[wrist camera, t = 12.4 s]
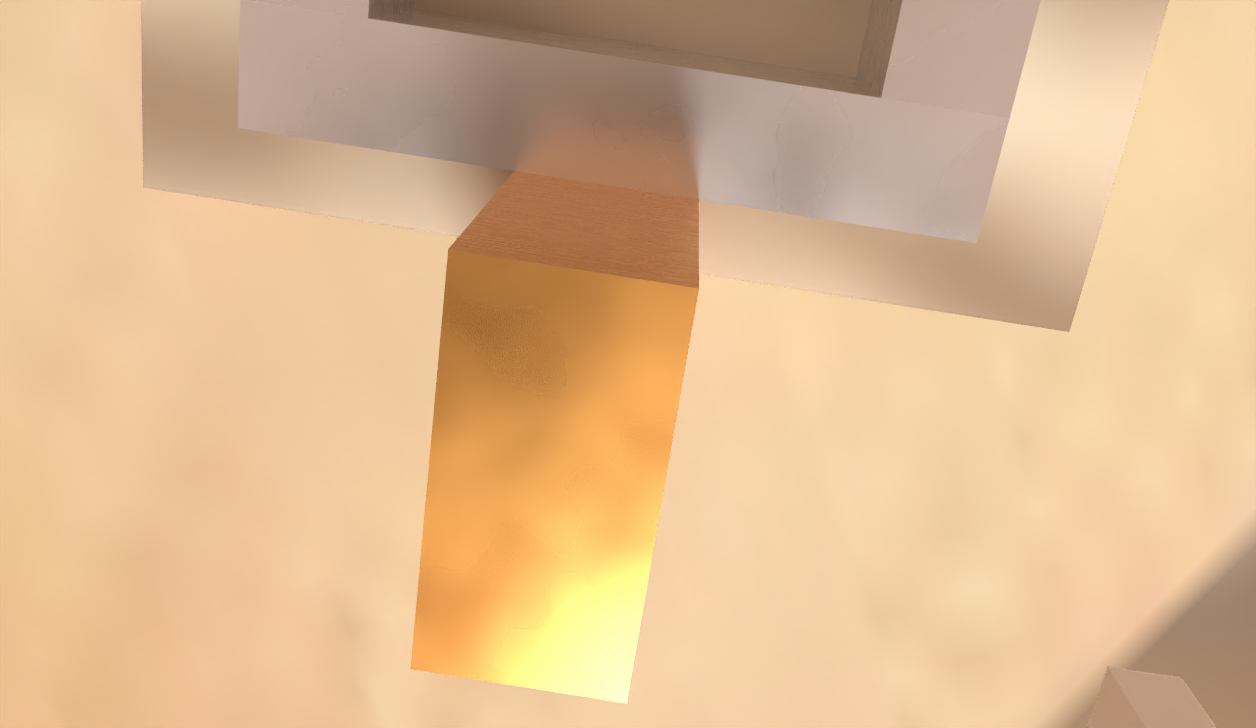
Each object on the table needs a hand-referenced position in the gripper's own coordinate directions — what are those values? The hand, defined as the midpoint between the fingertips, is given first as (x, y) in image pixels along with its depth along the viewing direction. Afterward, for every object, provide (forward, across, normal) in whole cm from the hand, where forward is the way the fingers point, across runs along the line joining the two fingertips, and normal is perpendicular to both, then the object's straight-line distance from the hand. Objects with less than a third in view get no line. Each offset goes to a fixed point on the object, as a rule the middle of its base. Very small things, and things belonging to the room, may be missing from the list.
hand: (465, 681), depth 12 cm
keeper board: (+12, -1, -10) cm, 16 cm away
